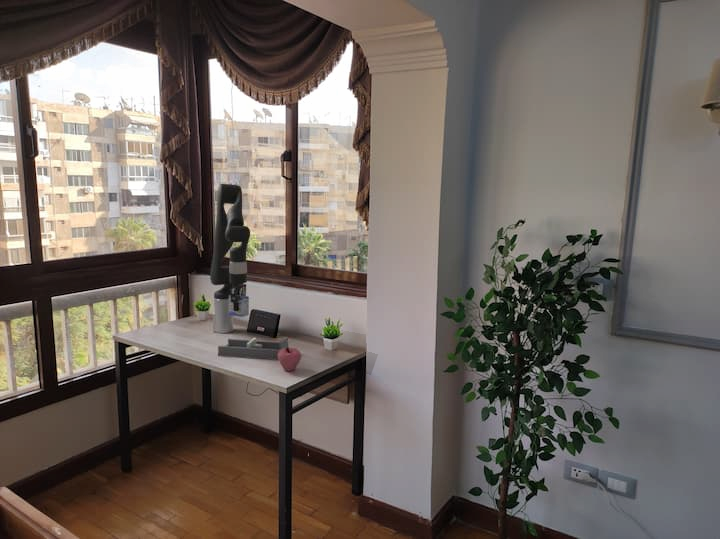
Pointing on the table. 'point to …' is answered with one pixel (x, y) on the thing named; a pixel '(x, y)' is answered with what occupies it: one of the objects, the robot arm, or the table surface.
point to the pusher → (253, 344)
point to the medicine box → (240, 307)
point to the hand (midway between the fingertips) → (238, 309)
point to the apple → (289, 358)
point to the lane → (252, 349)
